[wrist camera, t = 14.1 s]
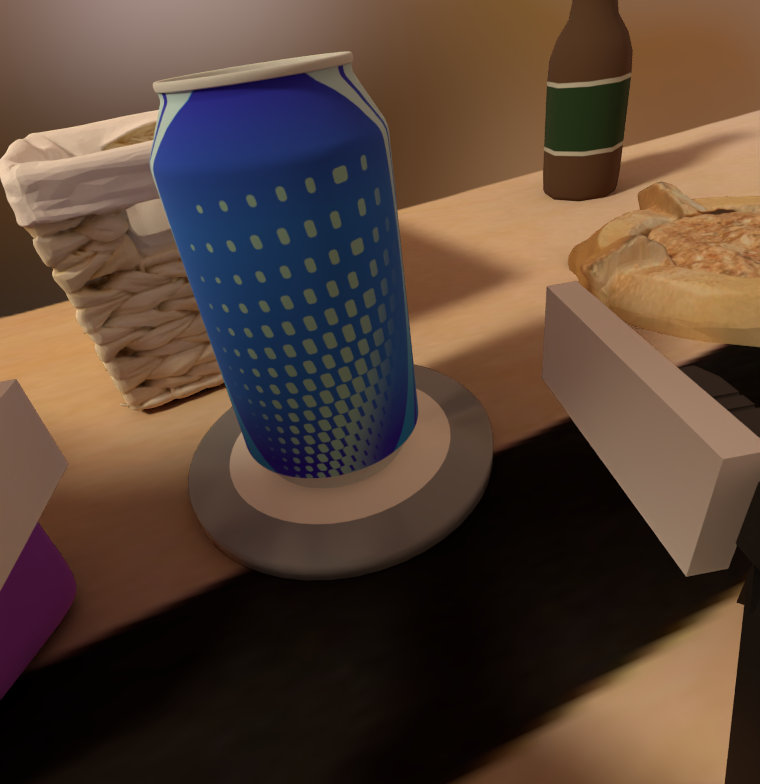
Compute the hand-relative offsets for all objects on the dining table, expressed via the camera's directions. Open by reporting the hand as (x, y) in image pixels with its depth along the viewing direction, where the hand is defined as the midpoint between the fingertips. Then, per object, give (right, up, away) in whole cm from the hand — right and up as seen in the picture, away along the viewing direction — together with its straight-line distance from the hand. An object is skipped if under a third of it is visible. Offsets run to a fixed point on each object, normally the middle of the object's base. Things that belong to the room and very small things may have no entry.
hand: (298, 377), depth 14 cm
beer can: (0, -3, +13) cm, 13 cm away
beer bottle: (+24, +22, +45) cm, 56 cm away
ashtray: (+28, +8, +25) cm, 38 cm away
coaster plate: (0, -4, +14) cm, 14 cm away
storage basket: (-12, +5, +29) cm, 32 cm away
